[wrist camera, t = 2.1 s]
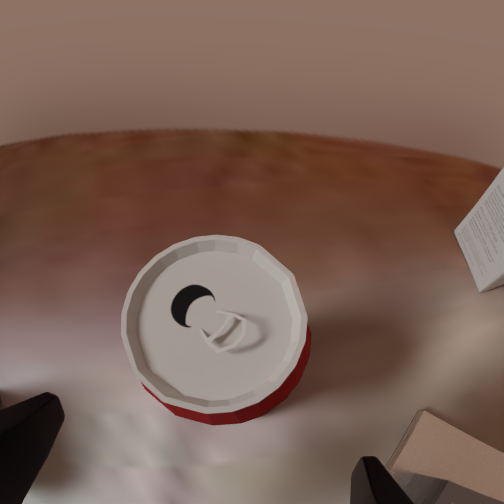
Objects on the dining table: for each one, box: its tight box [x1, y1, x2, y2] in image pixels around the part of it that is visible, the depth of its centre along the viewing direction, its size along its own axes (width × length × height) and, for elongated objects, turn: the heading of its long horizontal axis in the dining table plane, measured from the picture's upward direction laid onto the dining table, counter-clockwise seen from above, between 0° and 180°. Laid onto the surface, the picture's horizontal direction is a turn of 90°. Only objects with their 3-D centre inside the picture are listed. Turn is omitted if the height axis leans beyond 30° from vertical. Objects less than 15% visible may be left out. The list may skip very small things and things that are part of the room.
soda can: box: [121, 235, 311, 425], centre depth 13 cm, size 6×6×12 cm
